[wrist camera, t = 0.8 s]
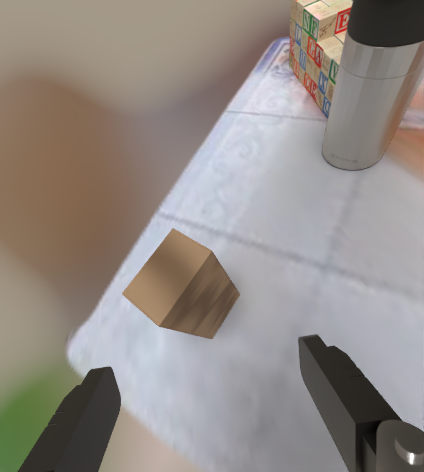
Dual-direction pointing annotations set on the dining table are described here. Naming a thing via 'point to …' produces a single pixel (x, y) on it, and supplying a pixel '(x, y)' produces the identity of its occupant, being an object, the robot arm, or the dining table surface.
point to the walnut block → (183, 287)
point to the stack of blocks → (318, 45)
